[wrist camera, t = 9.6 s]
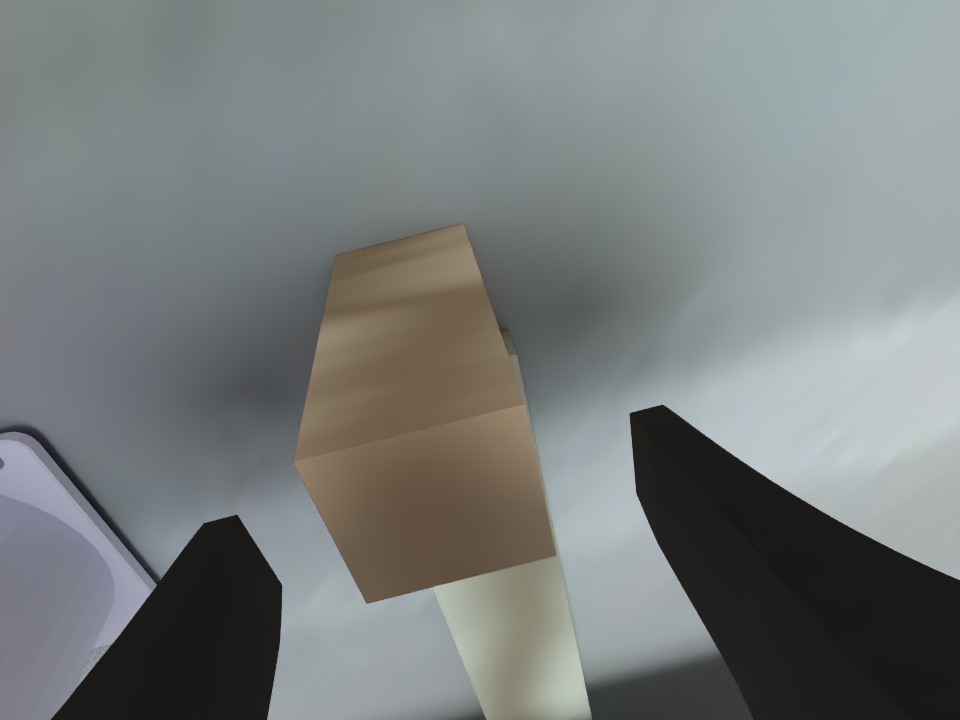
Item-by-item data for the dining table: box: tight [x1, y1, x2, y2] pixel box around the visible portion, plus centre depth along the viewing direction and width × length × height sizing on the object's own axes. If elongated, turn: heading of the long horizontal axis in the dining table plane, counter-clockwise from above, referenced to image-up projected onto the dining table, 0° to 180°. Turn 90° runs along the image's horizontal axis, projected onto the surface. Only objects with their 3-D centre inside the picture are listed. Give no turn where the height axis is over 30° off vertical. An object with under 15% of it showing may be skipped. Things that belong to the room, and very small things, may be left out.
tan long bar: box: [293, 224, 592, 720], centre depth 16 cm, size 4×21×7 cm, turn 12°
